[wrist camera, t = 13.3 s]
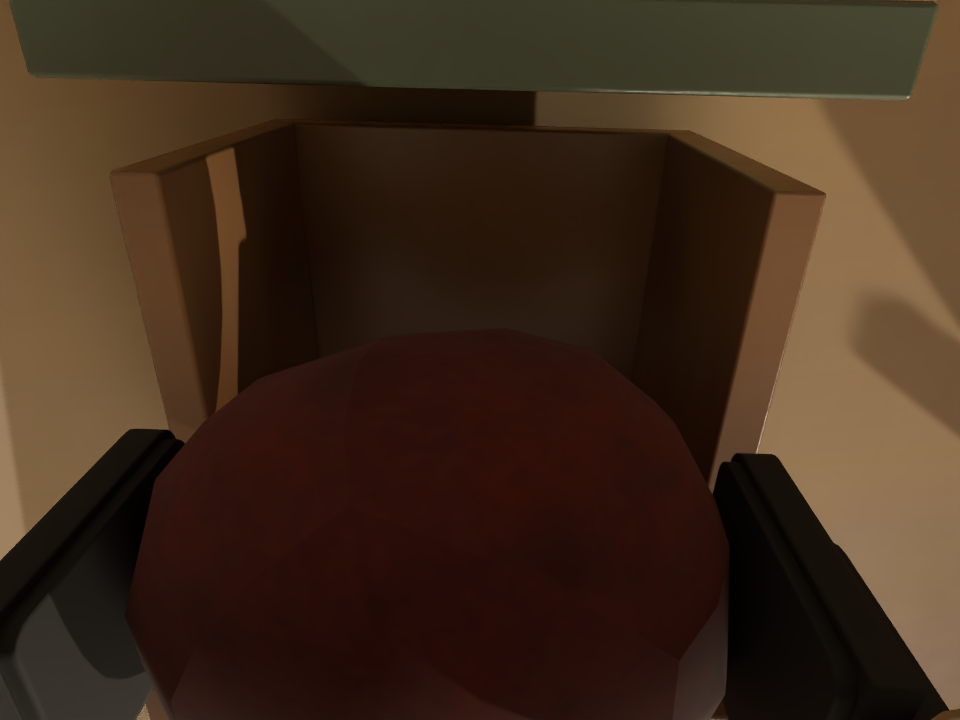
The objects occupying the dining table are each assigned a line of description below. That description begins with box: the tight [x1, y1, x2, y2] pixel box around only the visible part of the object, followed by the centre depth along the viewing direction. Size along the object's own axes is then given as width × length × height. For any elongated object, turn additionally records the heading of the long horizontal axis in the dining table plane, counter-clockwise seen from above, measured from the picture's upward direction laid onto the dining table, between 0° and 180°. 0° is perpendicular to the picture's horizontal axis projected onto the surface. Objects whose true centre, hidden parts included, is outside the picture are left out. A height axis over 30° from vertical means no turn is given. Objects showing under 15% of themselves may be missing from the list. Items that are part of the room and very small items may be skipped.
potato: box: [124, 328, 730, 720], centre depth 9 cm, size 7×8×6 cm
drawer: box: [9, 0, 938, 495], centre depth 14 cm, size 18×12×8 cm
